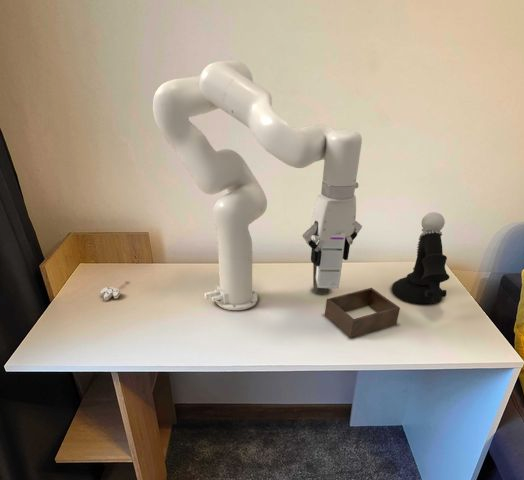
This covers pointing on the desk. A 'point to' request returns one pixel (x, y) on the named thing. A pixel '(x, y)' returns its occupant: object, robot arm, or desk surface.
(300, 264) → the desk surface
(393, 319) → the bin
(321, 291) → the beverage cup
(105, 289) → the white flower stem
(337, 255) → the syrup box
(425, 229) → the sculpture
